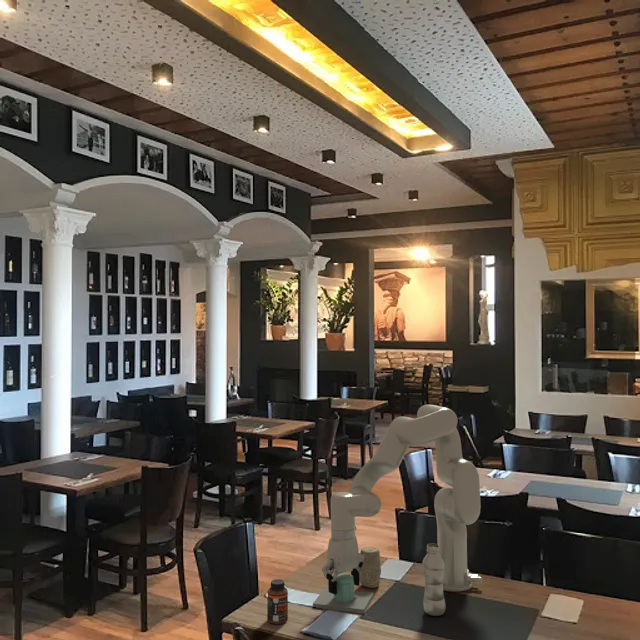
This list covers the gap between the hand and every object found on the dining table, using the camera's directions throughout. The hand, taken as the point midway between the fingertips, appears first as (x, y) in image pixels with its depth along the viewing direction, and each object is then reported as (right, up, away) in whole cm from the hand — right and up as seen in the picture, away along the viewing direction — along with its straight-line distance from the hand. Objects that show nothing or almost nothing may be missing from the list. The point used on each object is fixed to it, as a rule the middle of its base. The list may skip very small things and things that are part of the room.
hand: (344, 588), depth 198 cm
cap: (0, -3, 0) cm, 3 cm away
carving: (+9, -5, +13) cm, 16 cm away
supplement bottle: (-20, -4, -13) cm, 24 cm away
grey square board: (0, -4, 0) cm, 4 cm away
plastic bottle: (+26, -4, -10) cm, 28 cm away
